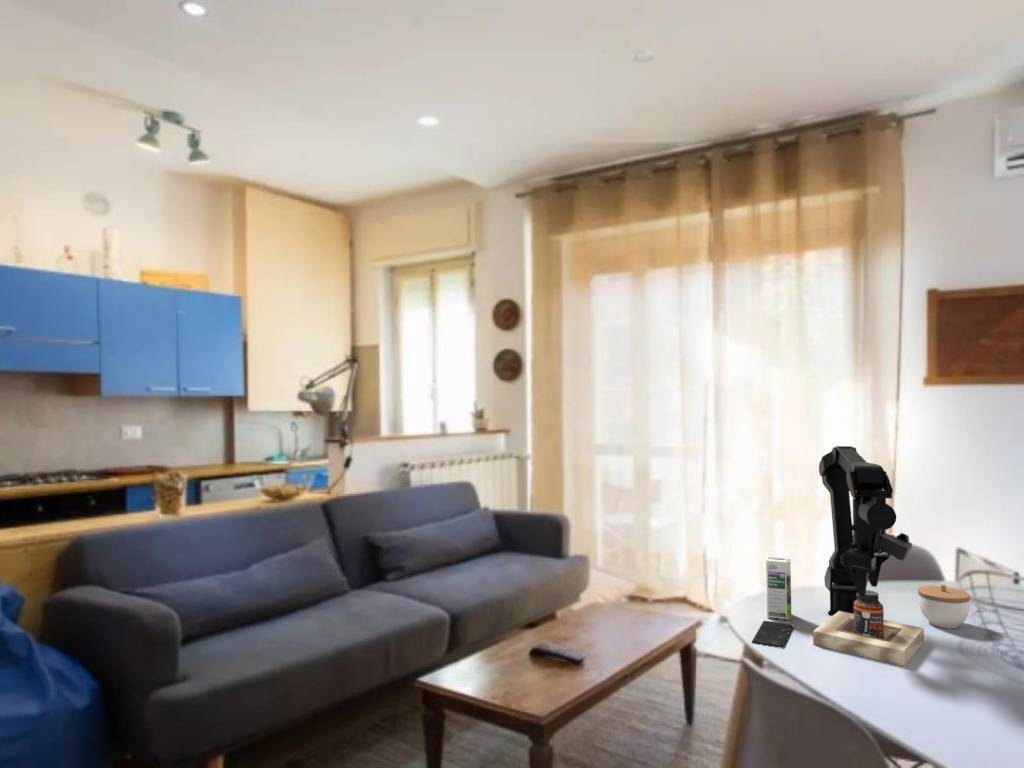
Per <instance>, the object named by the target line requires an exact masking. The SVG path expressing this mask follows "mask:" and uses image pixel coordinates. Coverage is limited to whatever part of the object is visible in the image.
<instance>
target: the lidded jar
mask: <svg viewBox="0 0 1024 768" xmlns="http://www.w3.org/2000/svg"><path fill="white" fill-rule="evenodd" d="M917 595H918V597H917V598H918V606H919V609H920V612H921V613H922V615H923V617H925V618H926V620H928V623H929V624H931V625H933V626H936V627H938V628H945V629H957V628H959V627H960V625H962V624H964V622H965V621H966V620H967V619H968V617H969V613H970V607H971V606H970V604H971V603H970V601H971V595H970V593H968V592H967V591H965V590H961V589H958V588H955V587H951V586H950V587H949V586H947V585H946V584H940V585H923V586H919V587H918V588H917Z"/></svg>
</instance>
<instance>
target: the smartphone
mask: <svg viewBox="0 0 1024 768" xmlns="http://www.w3.org/2000/svg"><path fill="white" fill-rule="evenodd" d="M792 628H794V626H793V624H790V623H789V624H788V623H782V622H777V621H775V622H774V621H769V620H763V621H762V623H761V625H760V627H759V628H758V630H757V631H756V634H755V635H754V637H753V639H752V641H751V643H752V644H754V643H755V645H760V644H762V645H761V646H767V645H768V646H767V647H772V646H775V647H774V648H777V647H781V648H780V649H784V648H785V647H786V645H785V644H787V642H788V640H789V638H790V636H791V634H790V633H792V631H793V629H792ZM788 637H789V638H788ZM787 639H788V640H787ZM784 646H785V647H784ZM783 647H784V648H783Z"/></svg>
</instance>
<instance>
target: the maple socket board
mask: <svg viewBox="0 0 1024 768" xmlns="http://www.w3.org/2000/svg"><path fill="white" fill-rule="evenodd" d="M883 620H884V619H883ZM883 624H884V625H883V628H884V630H883V632H884V638H883V639H880V638H875V637H871V636H866V635H862V634H857V633H854V614H852V613H847V612H842V611H838V612H837V613H836V614H834V615H831V616H830V617H829V618H828V619H826V620H825V621H824V622H823V623H821V624H820V625H819V626H818V627H816V628H815V629H814V630H813V631H812V635H813V636H812V642H813V643H812V644H813V646H814V645H815V646H818V647H823V648H828V649H832V650H835V651H840V652H843V653H847V654H852V655H857V656H859V657H860V656H861V657H865V658H868V659H873V660H878V661H883V662H886V663H890V664H893V665H898V666H903V667H904V666H906V664H907V663H908V662H909V661H910V659H911V658H912V657H913V656H914V654H916V652H917V650H919V648H920V647H921V646H922V644H923V643H925V628H924V627H921V626H915V625H911V624H906V623H900V622H897V621H890V620H884V621H883Z"/></svg>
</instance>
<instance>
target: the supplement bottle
mask: <svg viewBox="0 0 1024 768" xmlns="http://www.w3.org/2000/svg"><path fill="white" fill-rule="evenodd" d="M858 597H859V598H858V599H857V600H856V601H855V602H854V633H857V634H862V635H866V636H871V637H875V638H880V639H883V638H884V632H883V630H884V628H883V625H884V624H883V621H884V606H883V604H882V603H881V601H880V600H879V593H878V592H876V591H874V590H868V589H866V593H865V596H860V595H858Z"/></svg>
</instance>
